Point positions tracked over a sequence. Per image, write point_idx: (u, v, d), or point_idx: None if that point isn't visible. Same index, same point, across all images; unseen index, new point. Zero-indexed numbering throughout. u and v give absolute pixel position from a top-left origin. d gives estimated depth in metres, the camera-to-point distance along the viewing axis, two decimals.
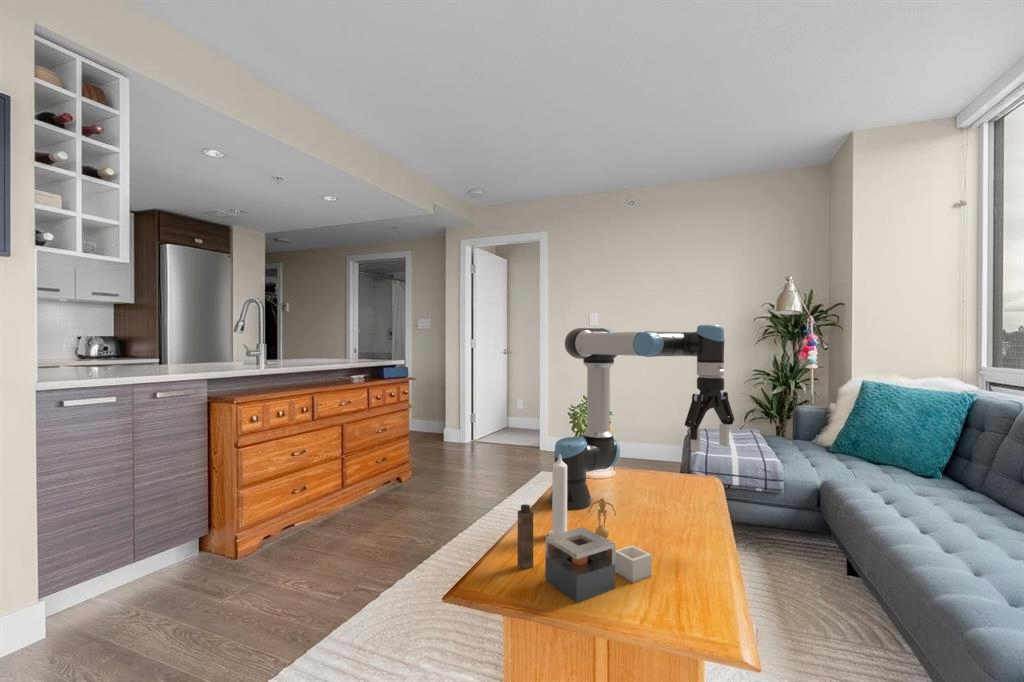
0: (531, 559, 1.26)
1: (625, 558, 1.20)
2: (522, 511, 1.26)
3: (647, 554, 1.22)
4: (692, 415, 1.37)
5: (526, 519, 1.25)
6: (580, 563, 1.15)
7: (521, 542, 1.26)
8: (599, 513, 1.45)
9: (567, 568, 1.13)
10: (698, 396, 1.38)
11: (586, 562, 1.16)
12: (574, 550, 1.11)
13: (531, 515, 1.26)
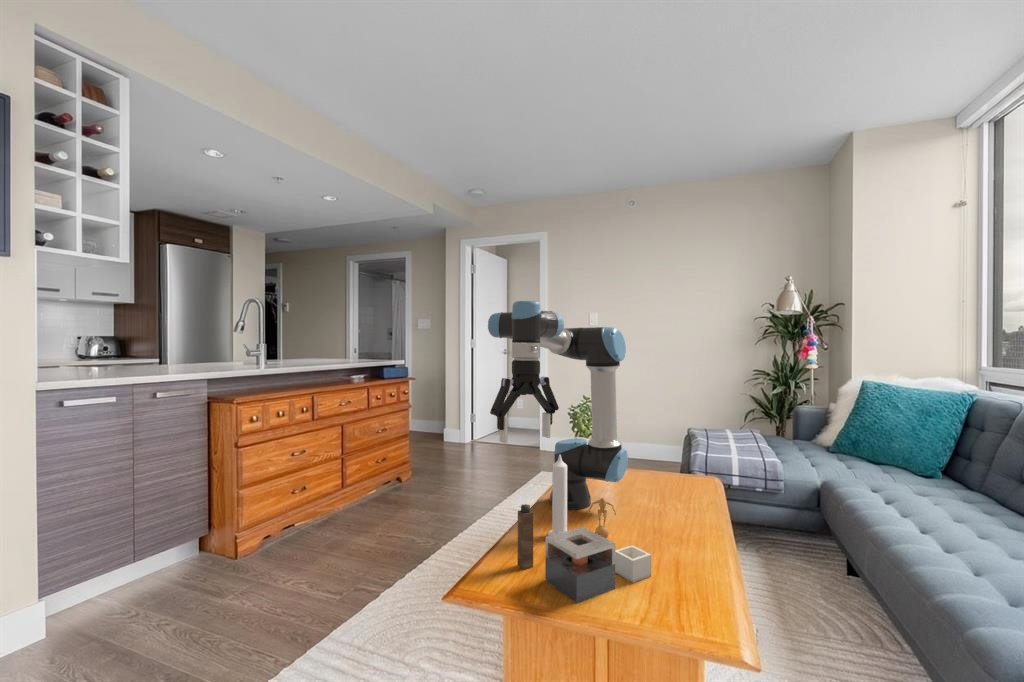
0: (531, 559, 1.26)
1: (625, 558, 1.20)
2: (522, 511, 1.26)
3: (647, 554, 1.22)
4: (497, 402, 1.21)
5: (526, 519, 1.25)
6: (580, 563, 1.15)
7: (521, 542, 1.26)
8: (599, 513, 1.45)
9: (567, 568, 1.13)
10: (505, 381, 1.22)
11: (586, 562, 1.16)
12: (574, 550, 1.11)
13: (531, 515, 1.26)
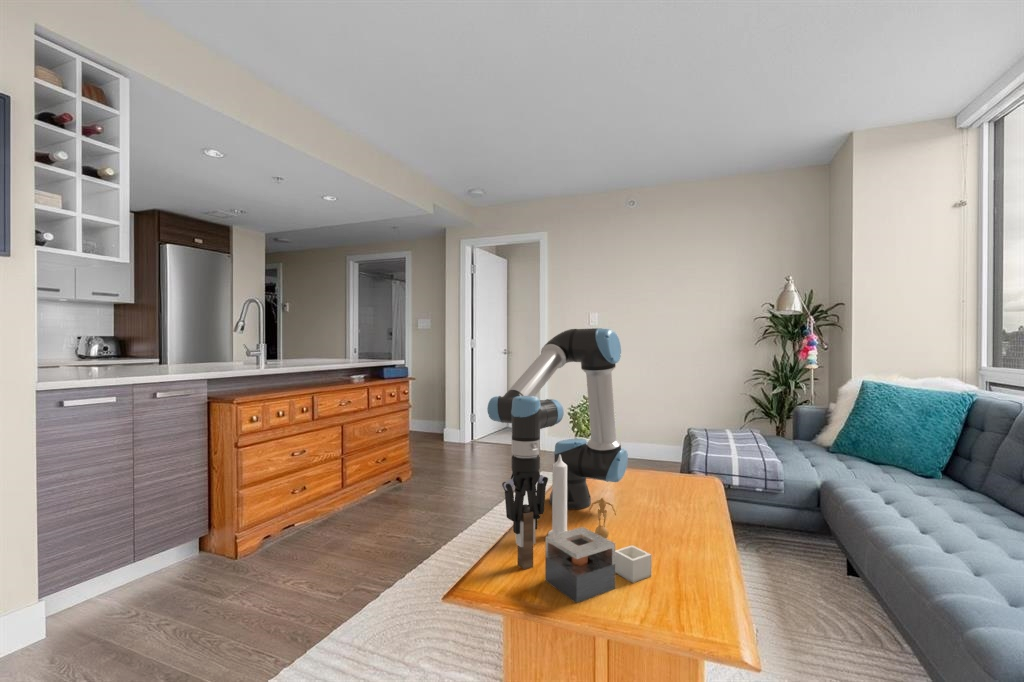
0: (531, 559, 1.26)
1: (625, 558, 1.20)
2: (522, 511, 1.26)
3: (647, 554, 1.22)
4: (509, 508, 1.23)
5: (526, 519, 1.25)
6: (580, 563, 1.15)
7: None
8: (599, 513, 1.45)
9: (567, 568, 1.13)
10: (506, 487, 1.22)
11: (586, 562, 1.16)
12: (574, 550, 1.11)
13: (531, 515, 1.26)
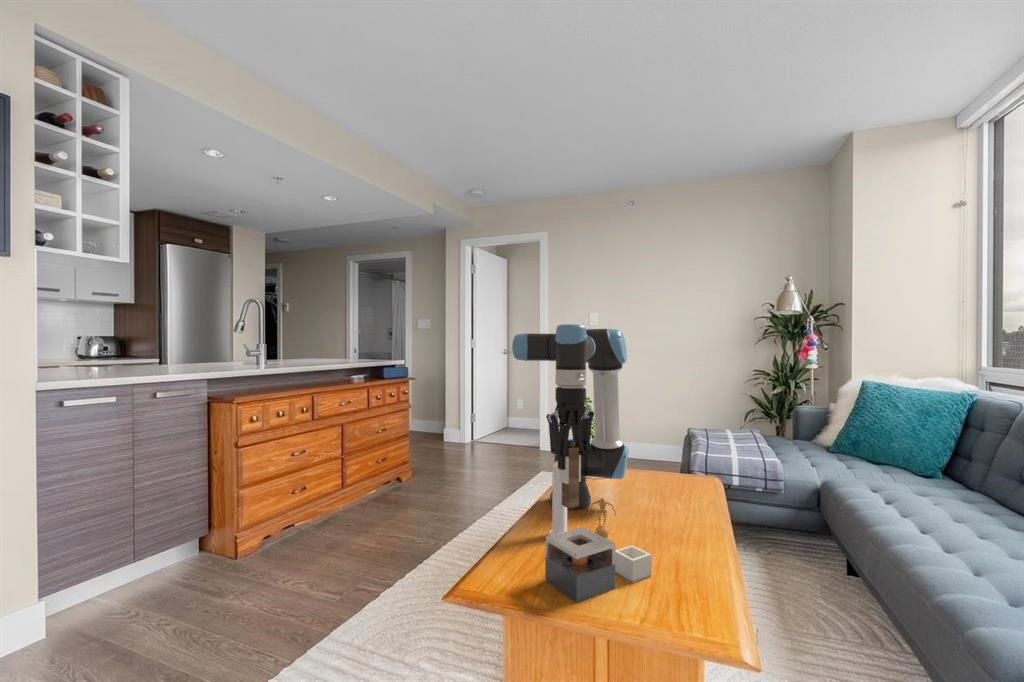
0: (577, 498, 1.18)
1: (625, 558, 1.20)
2: (567, 446, 1.18)
3: (647, 554, 1.22)
4: (554, 441, 1.15)
5: (571, 454, 1.17)
6: (580, 563, 1.15)
7: None
8: (599, 513, 1.45)
9: (567, 568, 1.13)
10: (551, 418, 1.14)
11: (586, 562, 1.16)
12: (574, 550, 1.11)
13: (577, 450, 1.18)
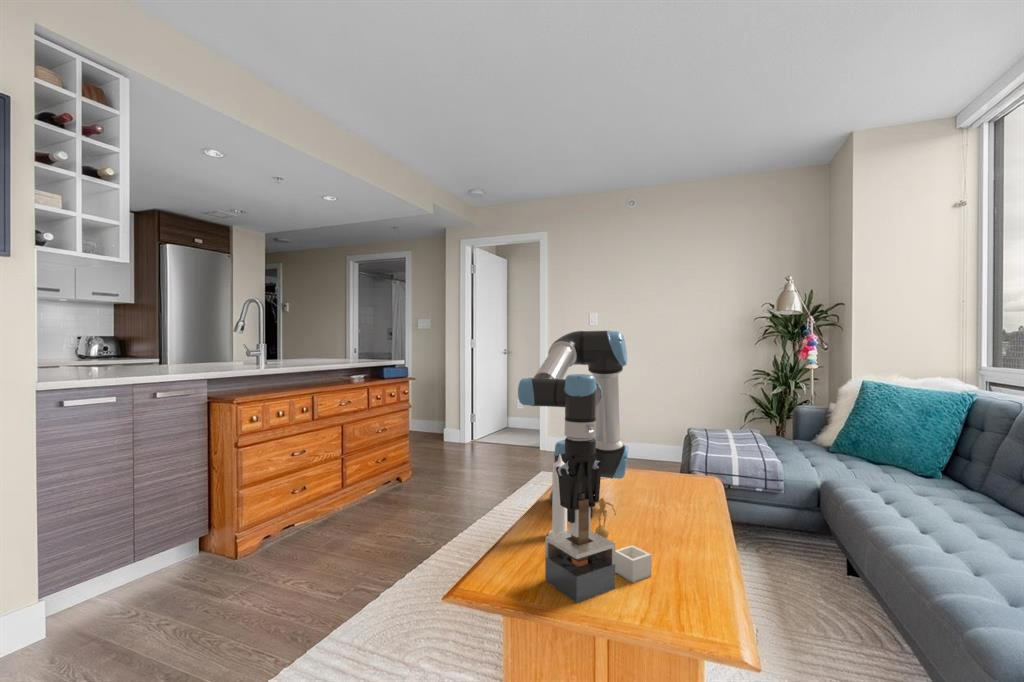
0: None
1: (625, 558, 1.20)
2: (577, 498, 1.16)
3: (647, 554, 1.22)
4: (563, 495, 1.14)
5: (581, 507, 1.15)
6: None
7: None
8: (599, 513, 1.45)
9: (567, 568, 1.13)
10: (561, 472, 1.13)
11: None
12: (574, 550, 1.11)
13: (586, 503, 1.16)
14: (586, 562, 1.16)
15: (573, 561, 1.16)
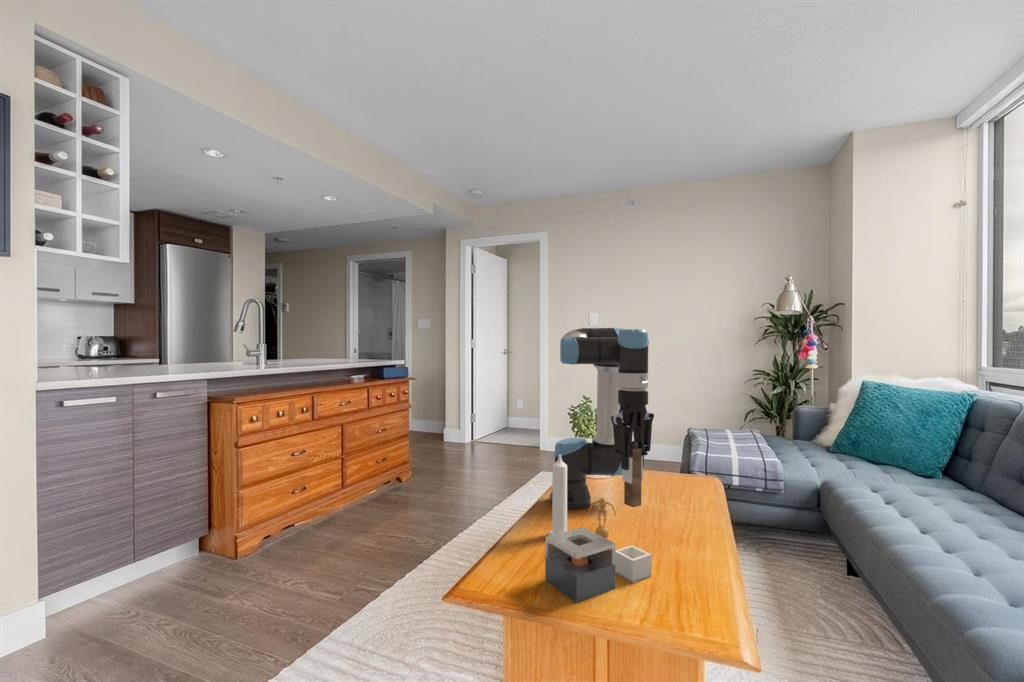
0: (639, 497, 1.22)
1: (625, 558, 1.20)
2: None
3: (647, 554, 1.22)
4: (618, 442, 1.19)
5: (635, 455, 1.21)
6: None
7: None
8: (599, 513, 1.45)
9: (567, 568, 1.13)
10: (617, 420, 1.18)
11: None
12: (574, 550, 1.11)
13: (639, 451, 1.22)
14: (586, 562, 1.16)
15: (573, 561, 1.16)
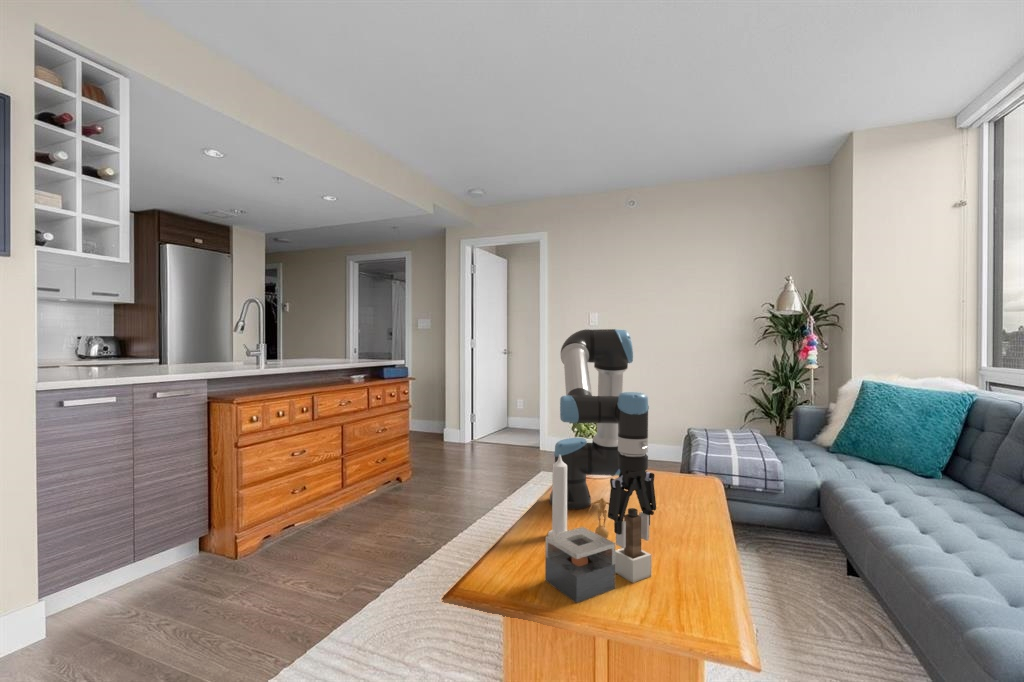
0: None
1: (625, 558, 1.20)
2: (630, 515, 1.22)
3: (647, 554, 1.22)
4: (613, 506, 1.18)
5: (635, 523, 1.21)
6: None
7: (629, 547, 1.21)
8: (599, 513, 1.45)
9: (567, 568, 1.13)
10: (616, 483, 1.18)
11: None
12: (574, 550, 1.11)
13: (639, 519, 1.22)
14: (586, 562, 1.16)
15: (573, 561, 1.16)
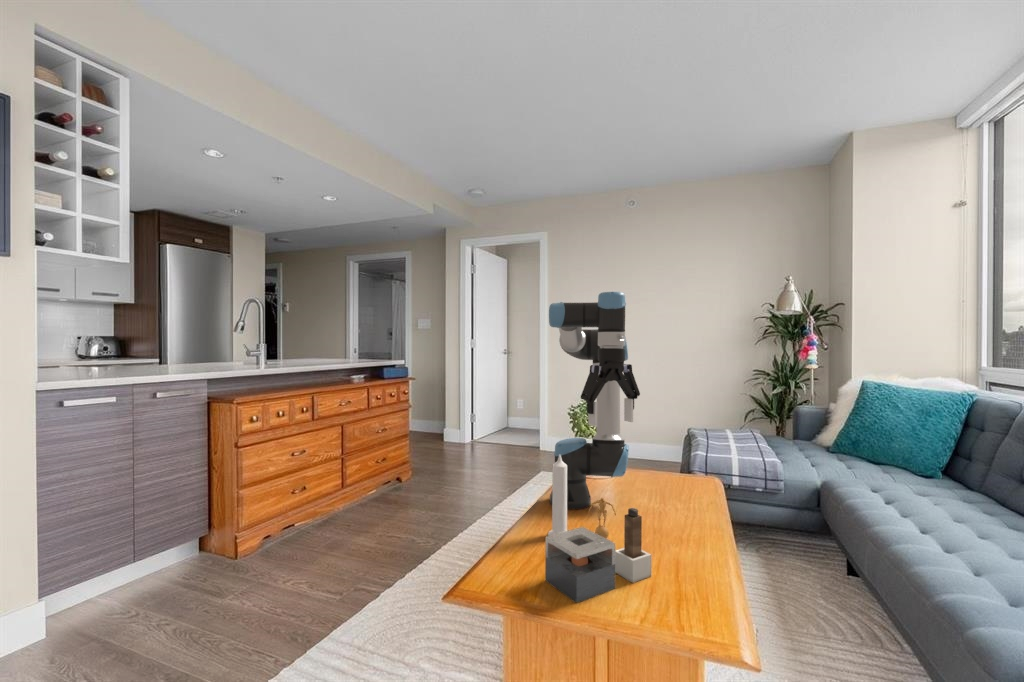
0: None
1: (625, 558, 1.20)
2: (630, 515, 1.22)
3: (647, 554, 1.22)
4: (588, 387, 1.28)
5: (635, 523, 1.21)
6: None
7: (629, 547, 1.21)
8: (599, 513, 1.45)
9: (567, 568, 1.13)
10: (595, 367, 1.29)
11: None
12: (574, 550, 1.11)
13: (639, 519, 1.22)
14: (586, 562, 1.16)
15: (573, 561, 1.16)
